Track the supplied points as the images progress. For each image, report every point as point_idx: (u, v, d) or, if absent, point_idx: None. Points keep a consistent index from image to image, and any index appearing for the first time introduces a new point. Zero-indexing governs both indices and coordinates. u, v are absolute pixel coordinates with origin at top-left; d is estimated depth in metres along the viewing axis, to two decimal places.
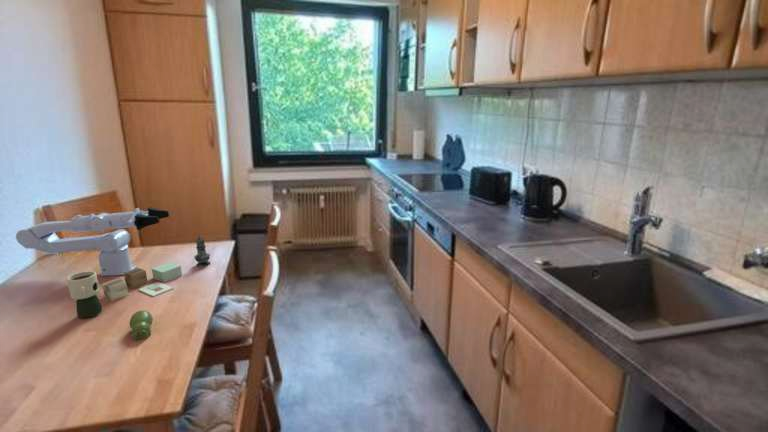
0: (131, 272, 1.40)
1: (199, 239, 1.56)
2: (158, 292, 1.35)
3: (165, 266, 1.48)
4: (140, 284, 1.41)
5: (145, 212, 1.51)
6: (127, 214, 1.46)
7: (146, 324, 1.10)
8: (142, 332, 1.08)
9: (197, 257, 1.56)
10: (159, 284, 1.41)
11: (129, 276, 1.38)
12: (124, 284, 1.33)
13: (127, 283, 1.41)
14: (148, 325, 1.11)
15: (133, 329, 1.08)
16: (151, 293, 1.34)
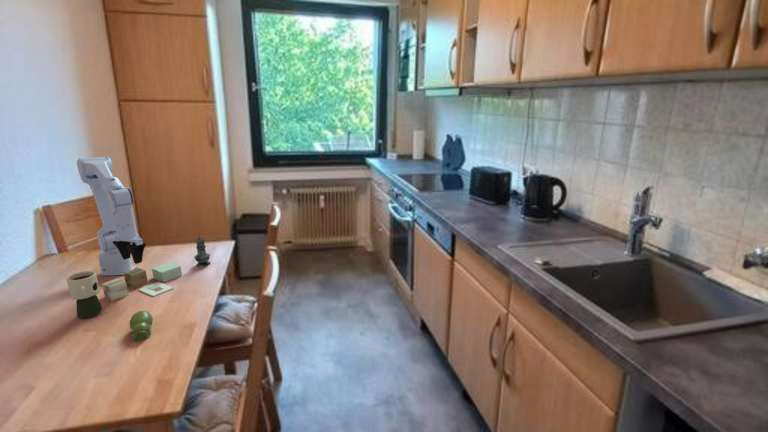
0: (131, 272, 1.40)
1: (199, 239, 1.56)
2: (158, 292, 1.35)
3: (165, 266, 1.48)
4: (140, 284, 1.41)
5: None
6: (116, 229, 1.35)
7: (146, 325, 1.10)
8: (142, 333, 1.08)
9: (197, 257, 1.56)
10: (159, 284, 1.41)
11: (129, 276, 1.38)
12: (124, 284, 1.33)
13: (127, 283, 1.41)
14: (148, 326, 1.11)
15: (133, 330, 1.08)
16: (151, 293, 1.34)
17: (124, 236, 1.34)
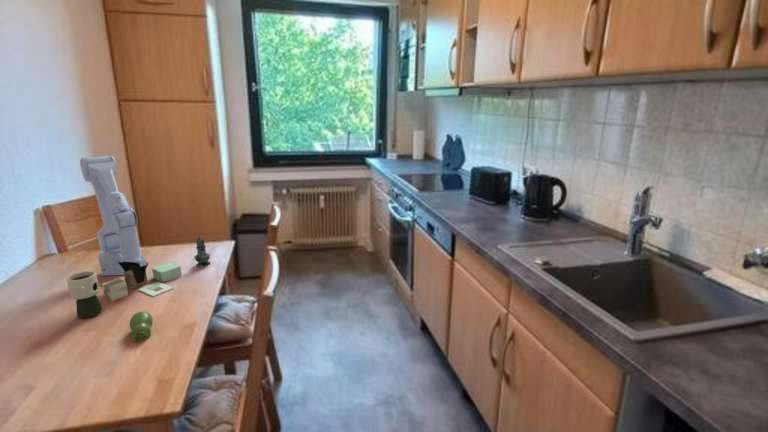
0: (131, 272, 1.40)
1: (199, 239, 1.56)
2: (158, 292, 1.35)
3: (165, 266, 1.48)
4: (140, 284, 1.41)
5: None
6: (120, 250, 1.37)
7: (146, 326, 1.10)
8: (142, 333, 1.08)
9: (197, 257, 1.56)
10: (159, 284, 1.41)
11: (129, 276, 1.38)
12: (124, 284, 1.33)
13: (127, 283, 1.40)
14: (148, 326, 1.10)
15: (133, 330, 1.08)
16: (151, 293, 1.34)
17: (128, 257, 1.36)
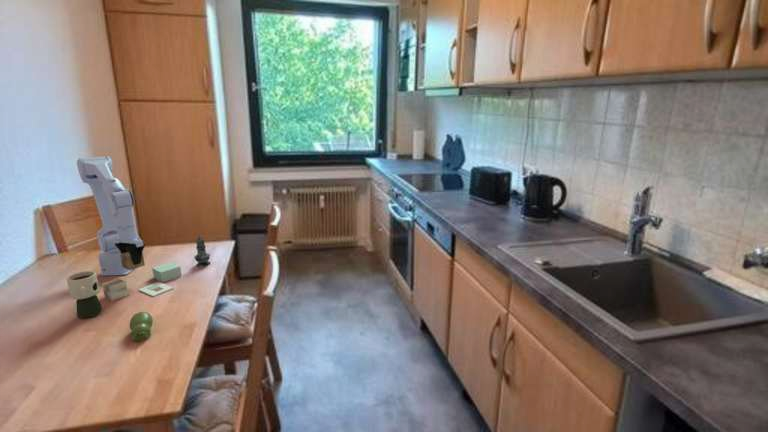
0: (128, 254, 1.38)
1: (199, 239, 1.56)
2: (158, 292, 1.35)
3: (165, 266, 1.48)
4: (137, 266, 1.39)
5: None
6: (117, 231, 1.35)
7: (146, 326, 1.09)
8: (142, 334, 1.07)
9: (197, 257, 1.56)
10: (159, 284, 1.41)
11: (126, 257, 1.36)
12: (124, 284, 1.33)
13: (124, 265, 1.39)
14: (148, 327, 1.10)
15: (133, 331, 1.08)
16: (151, 293, 1.34)
17: (125, 238, 1.35)
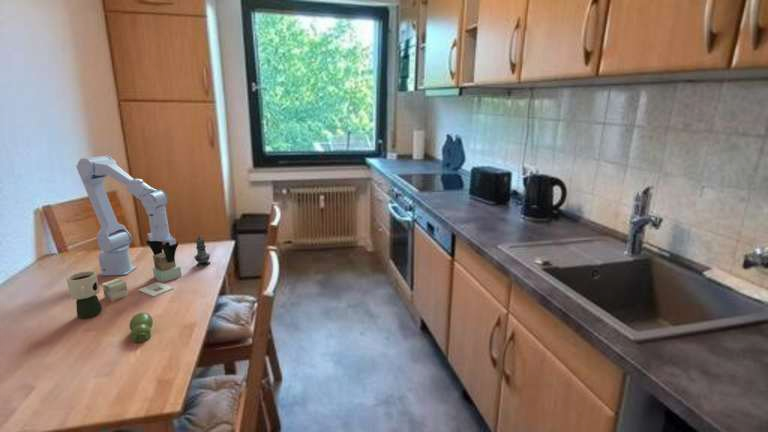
0: (160, 255, 1.45)
1: (199, 239, 1.56)
2: (158, 292, 1.35)
3: None
4: (169, 267, 1.46)
5: None
6: None
7: (146, 327, 1.09)
8: (142, 335, 1.07)
9: (197, 257, 1.56)
10: (159, 284, 1.41)
11: (159, 259, 1.43)
12: (124, 284, 1.33)
13: (156, 266, 1.46)
14: (148, 327, 1.10)
15: (133, 331, 1.07)
16: (151, 293, 1.34)
17: (158, 236, 1.41)
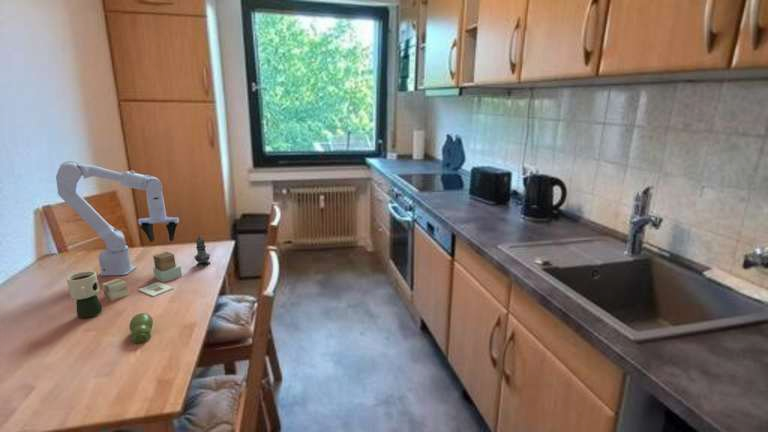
0: (160, 255, 1.45)
1: (199, 239, 1.56)
2: (158, 292, 1.35)
3: None
4: (168, 267, 1.46)
5: None
6: (150, 213, 1.53)
7: (146, 328, 1.09)
8: (142, 335, 1.07)
9: (197, 257, 1.56)
10: (159, 284, 1.41)
11: (158, 259, 1.43)
12: (124, 284, 1.33)
13: (156, 266, 1.46)
14: (148, 328, 1.09)
15: (133, 332, 1.07)
16: (151, 293, 1.34)
17: (161, 218, 1.54)
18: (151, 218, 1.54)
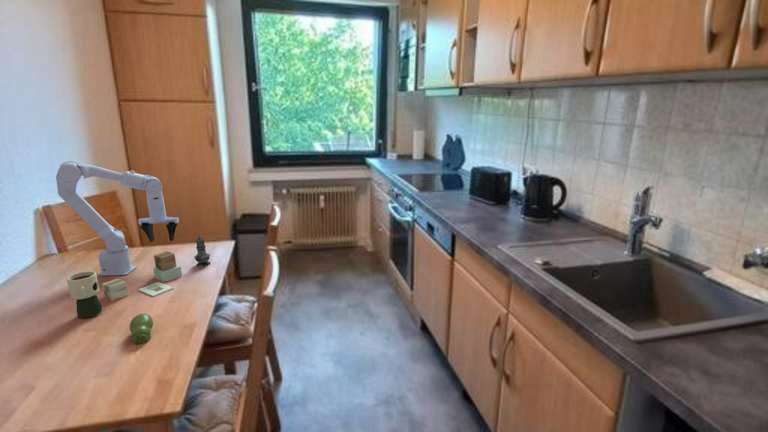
0: (161, 255, 1.45)
1: (199, 239, 1.56)
2: (158, 292, 1.35)
3: None
4: (169, 267, 1.46)
5: None
6: (150, 213, 1.53)
7: (146, 328, 1.08)
8: (142, 336, 1.06)
9: (197, 257, 1.56)
10: (159, 284, 1.41)
11: (159, 258, 1.44)
12: (124, 284, 1.33)
13: (157, 265, 1.46)
14: (148, 329, 1.09)
15: (133, 333, 1.07)
16: (151, 293, 1.34)
17: (161, 218, 1.54)
18: (151, 218, 1.54)
